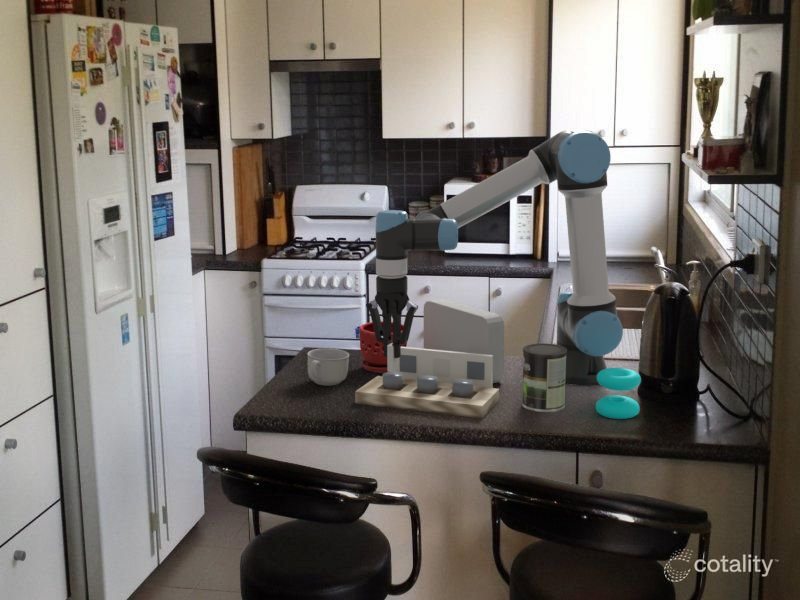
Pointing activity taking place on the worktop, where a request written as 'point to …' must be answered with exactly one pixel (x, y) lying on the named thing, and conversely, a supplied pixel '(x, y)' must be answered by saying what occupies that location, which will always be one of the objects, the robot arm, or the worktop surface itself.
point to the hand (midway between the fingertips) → (392, 370)
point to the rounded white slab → (464, 331)
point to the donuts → (615, 403)
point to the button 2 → (462, 388)
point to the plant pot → (374, 348)
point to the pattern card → (446, 365)
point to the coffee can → (544, 377)
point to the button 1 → (392, 380)
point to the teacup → (327, 366)
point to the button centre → (427, 384)
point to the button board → (428, 398)
